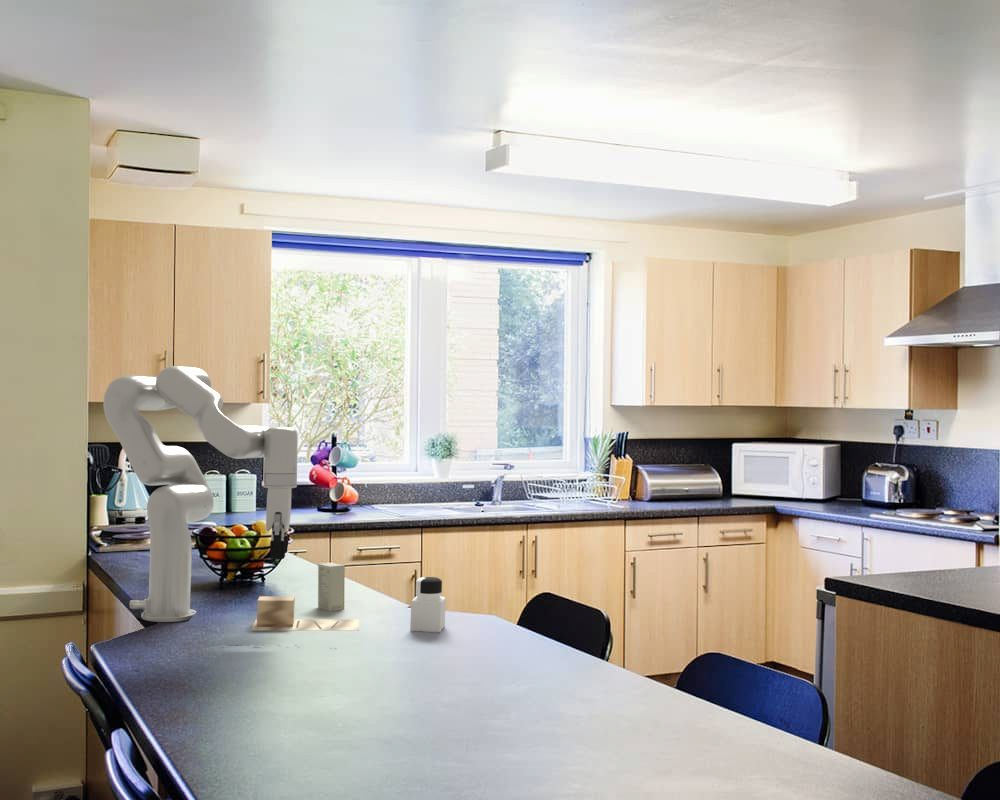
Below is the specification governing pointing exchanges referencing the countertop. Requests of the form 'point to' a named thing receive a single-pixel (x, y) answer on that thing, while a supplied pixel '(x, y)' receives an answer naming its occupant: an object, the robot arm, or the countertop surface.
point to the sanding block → (275, 611)
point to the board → (316, 625)
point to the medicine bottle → (428, 606)
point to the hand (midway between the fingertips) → (278, 555)
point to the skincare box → (331, 586)
